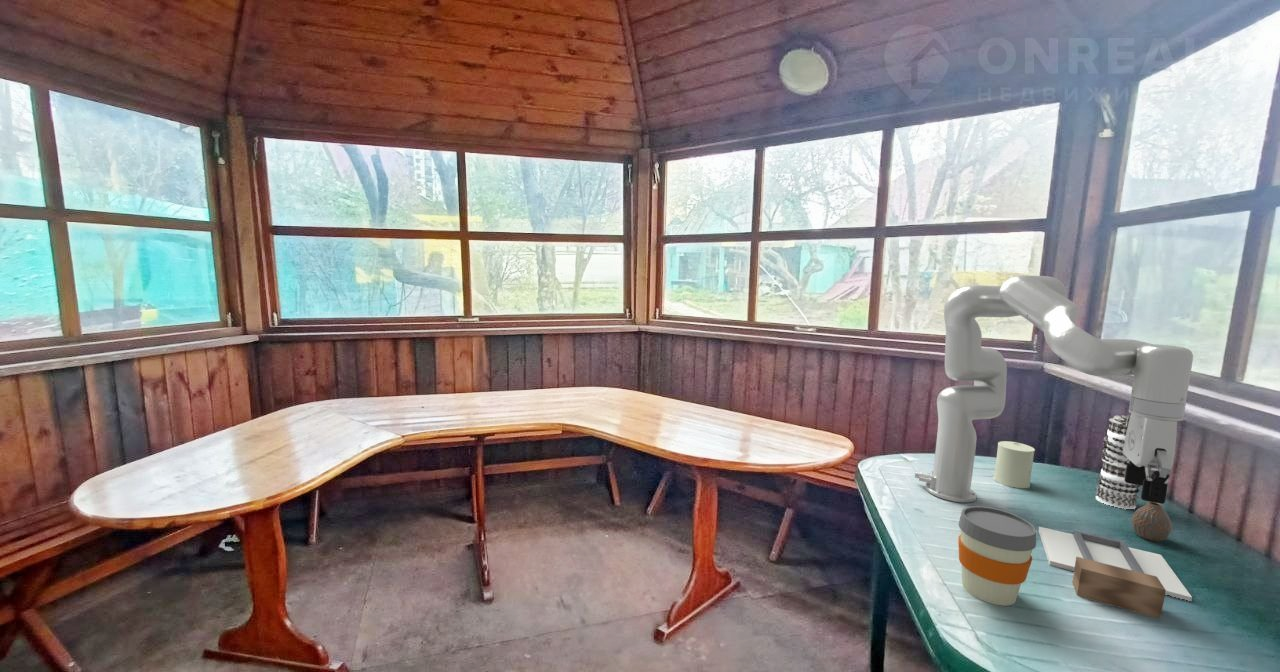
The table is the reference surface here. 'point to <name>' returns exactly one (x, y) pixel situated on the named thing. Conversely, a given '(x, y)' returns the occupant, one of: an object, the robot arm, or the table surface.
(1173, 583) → the slot board
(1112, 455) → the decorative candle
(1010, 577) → the reusable coffee cup
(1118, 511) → the table surface
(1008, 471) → the can
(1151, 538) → the vase
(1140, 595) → the walnut bar
